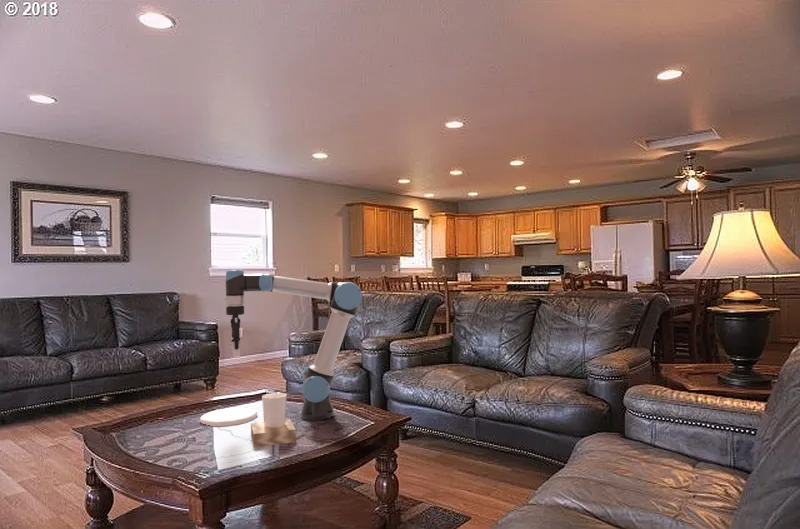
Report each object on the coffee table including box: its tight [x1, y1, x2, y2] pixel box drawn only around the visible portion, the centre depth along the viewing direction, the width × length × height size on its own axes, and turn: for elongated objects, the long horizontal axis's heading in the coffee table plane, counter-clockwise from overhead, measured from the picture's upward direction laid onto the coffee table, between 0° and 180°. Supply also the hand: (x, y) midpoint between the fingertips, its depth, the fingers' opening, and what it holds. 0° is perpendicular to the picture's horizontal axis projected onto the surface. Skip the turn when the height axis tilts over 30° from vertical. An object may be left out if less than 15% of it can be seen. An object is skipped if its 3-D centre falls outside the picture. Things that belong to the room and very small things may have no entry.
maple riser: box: [250, 418, 297, 448], centre depth 220 cm, size 16×16×5 cm
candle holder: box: [261, 392, 288, 428], centre depth 222 cm, size 10×10×12 cm
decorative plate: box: [199, 406, 258, 427], centre depth 253 cm, size 25×4×25 cm
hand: (235, 354), depth 236 cm, fingers open, 13 cm apart
